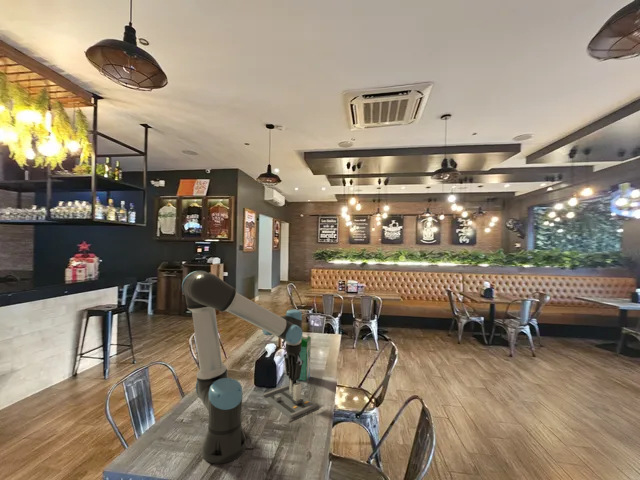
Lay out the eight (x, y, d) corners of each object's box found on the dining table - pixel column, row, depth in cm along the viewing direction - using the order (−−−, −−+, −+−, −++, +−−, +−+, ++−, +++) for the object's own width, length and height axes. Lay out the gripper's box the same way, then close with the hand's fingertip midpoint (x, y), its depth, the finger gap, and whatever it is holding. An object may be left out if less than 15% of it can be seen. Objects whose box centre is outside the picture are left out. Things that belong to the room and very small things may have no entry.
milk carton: (306, 383, 161) (307, 337, 161) (290, 381, 162) (291, 336, 163) (310, 376, 169) (310, 332, 170) (294, 374, 171) (295, 331, 172)
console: (290, 422, 125) (290, 414, 125) (261, 399, 143) (261, 392, 143) (318, 409, 135) (319, 401, 135) (288, 389, 153) (289, 382, 154)
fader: (296, 404, 135) (297, 386, 135) (291, 400, 139) (291, 383, 139) (303, 402, 138) (303, 384, 138) (297, 398, 141) (297, 380, 141)
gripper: (308, 344, 139) (307, 395, 138) (291, 338, 149) (290, 385, 148) (295, 348, 134) (294, 400, 133) (279, 340, 144) (278, 389, 143)
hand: (292, 392), depth 141 cm, fingers closed
